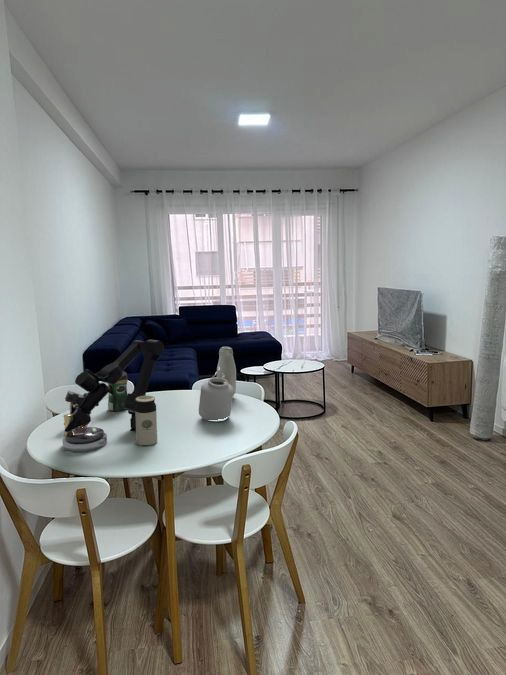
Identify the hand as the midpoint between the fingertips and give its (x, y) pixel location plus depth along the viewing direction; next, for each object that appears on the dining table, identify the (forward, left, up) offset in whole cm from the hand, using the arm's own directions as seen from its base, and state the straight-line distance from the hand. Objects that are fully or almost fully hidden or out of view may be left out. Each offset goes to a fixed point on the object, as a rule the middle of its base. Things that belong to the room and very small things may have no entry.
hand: (65, 428), depth 166 cm
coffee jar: (-1, -49, -8) cm, 50 cm away
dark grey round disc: (-6, -3, -8) cm, 10 cm away
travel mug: (-29, -8, -8) cm, 31 cm away
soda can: (+6, -23, -8) cm, 25 cm away
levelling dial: (-6, -3, -5) cm, 8 cm away
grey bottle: (-51, -74, -8) cm, 90 cm away
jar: (-52, -38, -8) cm, 65 cm away
